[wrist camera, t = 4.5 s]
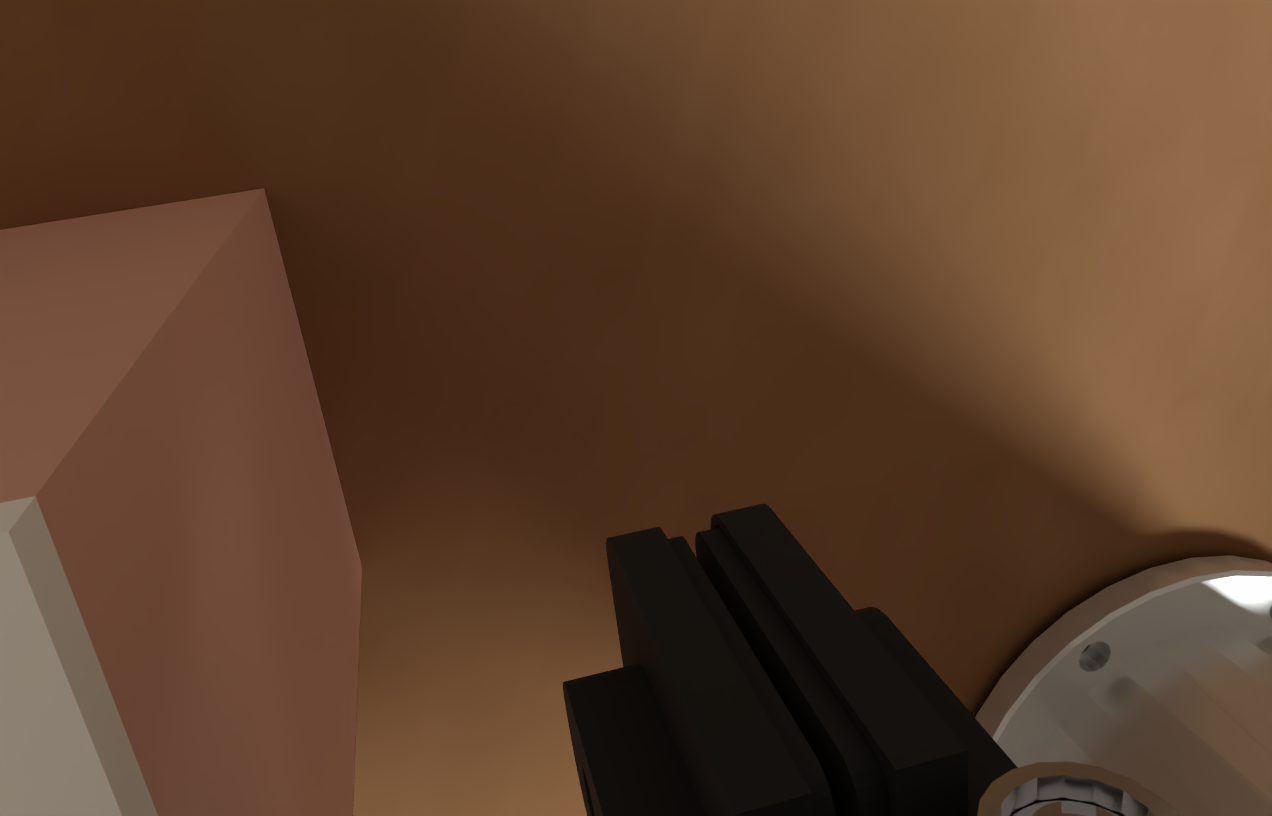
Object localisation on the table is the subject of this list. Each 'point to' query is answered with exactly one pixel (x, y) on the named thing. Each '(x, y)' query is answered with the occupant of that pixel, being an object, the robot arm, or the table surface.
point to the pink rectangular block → (168, 526)
